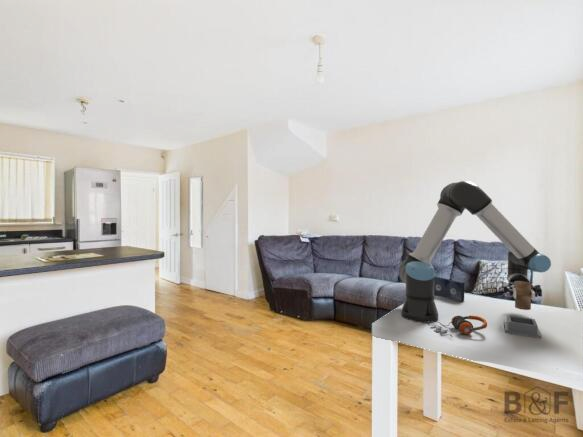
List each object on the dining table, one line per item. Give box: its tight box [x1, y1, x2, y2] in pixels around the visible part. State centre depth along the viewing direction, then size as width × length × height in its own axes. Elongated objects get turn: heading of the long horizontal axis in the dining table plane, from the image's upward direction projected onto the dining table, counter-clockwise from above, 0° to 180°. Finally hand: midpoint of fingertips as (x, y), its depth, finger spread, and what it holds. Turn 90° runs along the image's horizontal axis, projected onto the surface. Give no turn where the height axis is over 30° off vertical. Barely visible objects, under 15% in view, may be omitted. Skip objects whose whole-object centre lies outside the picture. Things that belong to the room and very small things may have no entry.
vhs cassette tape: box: [434, 275, 465, 303], centre depth 173 cm, size 18×3×10 cm, turn 27°
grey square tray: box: [503, 315, 542, 339], centre depth 126 cm, size 11×11×4 cm
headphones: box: [427, 315, 488, 338], centre depth 126 cm, size 17×5×20 cm
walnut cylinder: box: [514, 281, 532, 311], centre depth 126 cm, size 5×5×10 cm
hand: (524, 295), depth 121 cm, fingers closed on walnut cylinder, 5 cm apart
